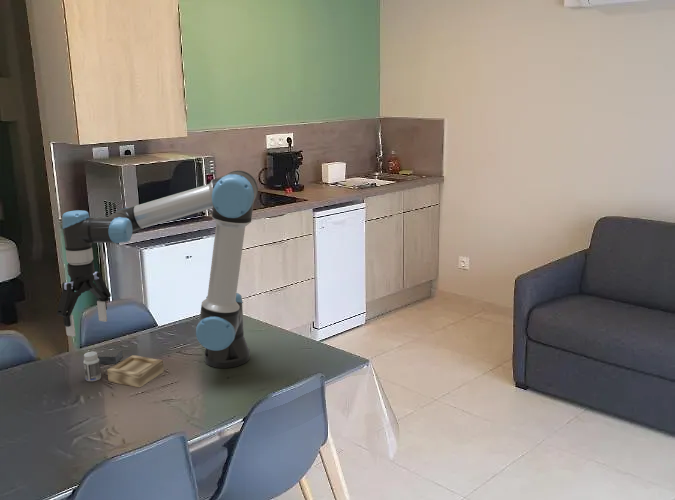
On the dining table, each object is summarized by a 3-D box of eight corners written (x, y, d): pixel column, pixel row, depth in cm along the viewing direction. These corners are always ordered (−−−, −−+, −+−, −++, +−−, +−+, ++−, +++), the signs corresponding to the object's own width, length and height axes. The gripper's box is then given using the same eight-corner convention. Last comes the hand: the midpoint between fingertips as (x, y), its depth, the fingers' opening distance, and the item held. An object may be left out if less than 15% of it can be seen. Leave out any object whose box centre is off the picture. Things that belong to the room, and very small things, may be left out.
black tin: (122, 357, 220) (121, 349, 219) (116, 365, 214) (115, 356, 213) (105, 357, 220) (104, 349, 219) (98, 365, 214) (97, 356, 213)
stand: (163, 371, 208) (163, 360, 207) (139, 387, 197) (138, 375, 196) (133, 366, 212) (132, 355, 211) (108, 381, 201) (107, 369, 200)
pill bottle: (103, 375, 205) (101, 351, 203) (97, 382, 201) (94, 357, 199) (89, 375, 206) (86, 350, 204) (82, 381, 201) (79, 356, 199)
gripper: (99, 251, 207) (106, 313, 212) (38, 271, 185) (46, 340, 190) (118, 253, 204) (124, 316, 209) (58, 273, 182) (66, 344, 187)
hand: (87, 328), depth 200 cm, fingers open, 13 cm apart
